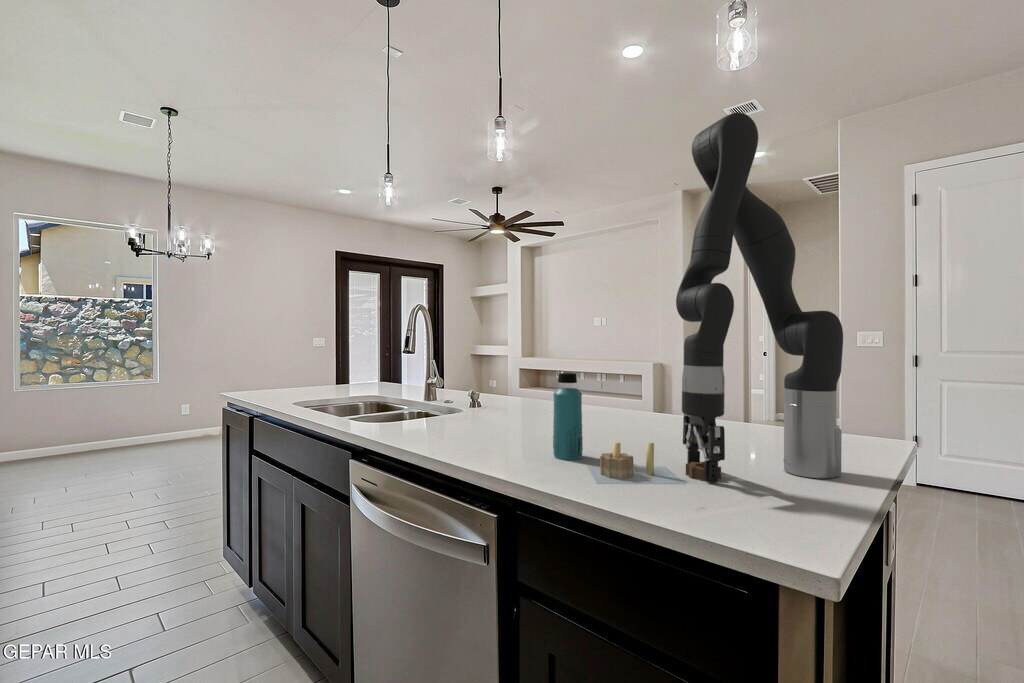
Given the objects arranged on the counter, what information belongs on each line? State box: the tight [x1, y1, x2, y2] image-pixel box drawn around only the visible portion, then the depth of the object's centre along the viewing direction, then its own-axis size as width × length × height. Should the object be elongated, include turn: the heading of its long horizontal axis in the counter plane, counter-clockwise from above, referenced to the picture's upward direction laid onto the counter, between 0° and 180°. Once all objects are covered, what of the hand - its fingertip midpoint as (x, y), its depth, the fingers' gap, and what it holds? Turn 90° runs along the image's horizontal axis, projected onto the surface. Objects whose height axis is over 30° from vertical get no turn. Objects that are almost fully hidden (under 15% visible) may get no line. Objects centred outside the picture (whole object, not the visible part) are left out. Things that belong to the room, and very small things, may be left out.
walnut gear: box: [685, 461, 722, 482], centre depth 92 cm, size 6×6×4 cm
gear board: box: [586, 441, 687, 485], centre depth 93 cm, size 16×12×8 cm
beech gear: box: [599, 451, 634, 479], centre depth 93 cm, size 6×6×4 cm
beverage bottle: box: [552, 372, 584, 461], centre depth 107 cm, size 6×7×20 cm
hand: (701, 475), depth 92 cm, fingers open, 8 cm apart
